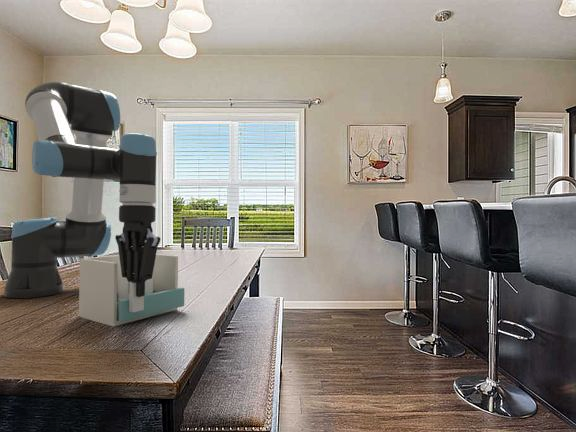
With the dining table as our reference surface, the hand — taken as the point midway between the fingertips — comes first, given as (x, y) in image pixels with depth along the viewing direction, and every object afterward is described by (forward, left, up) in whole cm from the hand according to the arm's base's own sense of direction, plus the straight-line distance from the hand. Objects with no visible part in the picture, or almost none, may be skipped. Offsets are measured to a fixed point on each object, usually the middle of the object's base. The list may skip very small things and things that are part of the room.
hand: (136, 310), depth 82 cm
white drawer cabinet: (-11, +6, -4) cm, 13 cm away
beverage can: (-10, +7, -2) cm, 12 cm away
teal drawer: (-8, +6, -2) cm, 10 cm away
